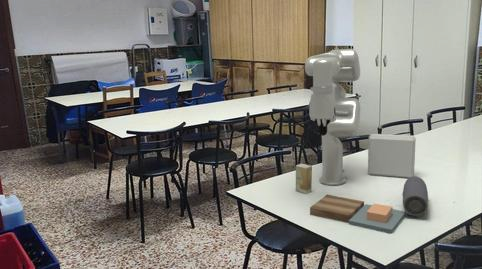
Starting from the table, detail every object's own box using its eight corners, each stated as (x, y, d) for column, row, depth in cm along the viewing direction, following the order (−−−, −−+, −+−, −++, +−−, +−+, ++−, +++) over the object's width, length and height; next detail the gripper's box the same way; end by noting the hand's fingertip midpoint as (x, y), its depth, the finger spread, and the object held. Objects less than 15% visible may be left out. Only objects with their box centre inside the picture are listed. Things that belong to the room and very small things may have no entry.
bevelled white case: (414, 174, 209) (416, 134, 205) (413, 179, 202) (415, 138, 198) (369, 170, 218) (370, 132, 214) (367, 175, 211) (368, 136, 207)
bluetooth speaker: (402, 196, 182) (403, 174, 180) (426, 198, 179) (427, 175, 177) (401, 218, 162) (402, 193, 160) (428, 220, 158) (429, 195, 156)
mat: (365, 207, 173) (365, 204, 172) (405, 215, 164) (405, 211, 163) (348, 224, 159) (348, 220, 158) (391, 233, 150) (391, 229, 149)
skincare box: (295, 191, 195) (294, 165, 192) (301, 188, 198) (300, 163, 195) (306, 194, 190) (306, 167, 188) (312, 191, 193) (312, 165, 191)
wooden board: (327, 201, 181) (327, 194, 181) (363, 208, 172) (364, 201, 171) (310, 214, 169) (309, 207, 168) (348, 223, 160) (348, 215, 159)
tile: (373, 210, 166) (373, 203, 165) (392, 213, 162) (392, 206, 161) (366, 219, 158) (366, 211, 158) (385, 223, 155) (386, 215, 154)
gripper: (301, 91, 173) (302, 135, 177) (336, 92, 164) (336, 138, 169) (309, 88, 179) (310, 131, 183) (344, 89, 170) (343, 134, 175)
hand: (323, 134), depth 176 cm, fingers closed
